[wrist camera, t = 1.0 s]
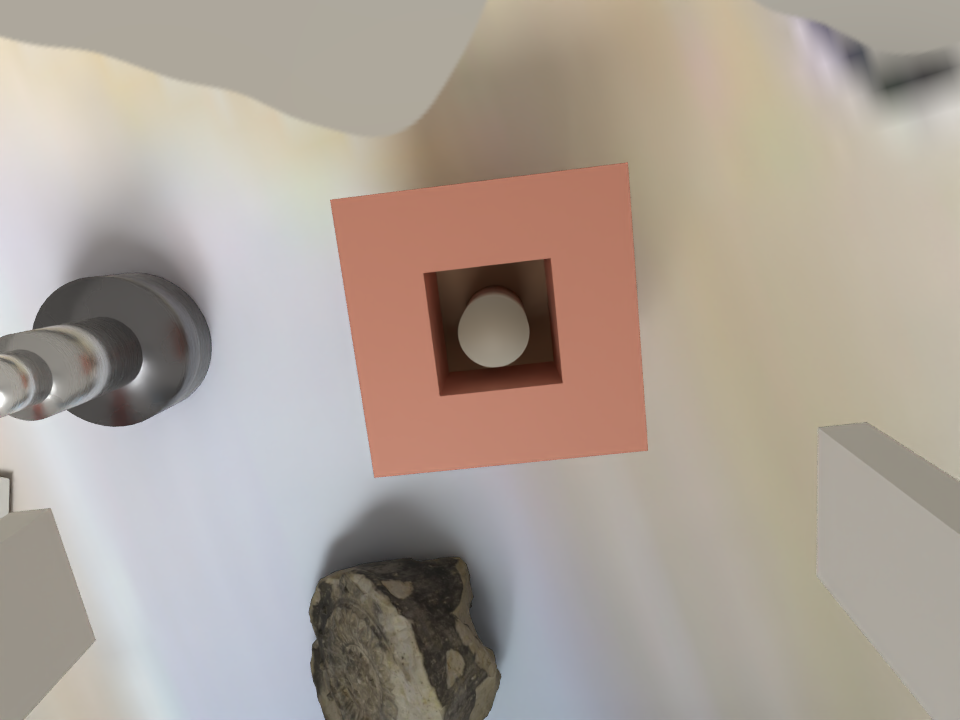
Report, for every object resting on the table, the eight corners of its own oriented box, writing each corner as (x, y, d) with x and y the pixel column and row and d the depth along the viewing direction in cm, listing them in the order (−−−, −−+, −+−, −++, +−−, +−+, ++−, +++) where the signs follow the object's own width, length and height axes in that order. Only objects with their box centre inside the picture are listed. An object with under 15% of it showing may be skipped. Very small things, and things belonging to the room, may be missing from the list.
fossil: (269, 568, 33) (296, 651, 24) (424, 498, 37) (498, 547, 28) (334, 743, 35) (383, 883, 26) (477, 660, 38) (564, 757, 29)
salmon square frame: (626, 418, 26) (648, 450, 22) (393, 442, 27) (374, 477, 23) (607, 174, 24) (627, 162, 21) (357, 205, 25) (329, 199, 21)
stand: (574, 363, 31) (606, 421, 21) (435, 378, 31) (405, 442, 22) (561, 220, 30) (589, 213, 20) (416, 238, 30) (375, 239, 21)
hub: (223, 401, 32) (100, 474, 22) (93, 415, 32) (-84, 493, 23) (195, 264, 31) (52, 278, 21) (60, 281, 31) (-143, 302, 21)
